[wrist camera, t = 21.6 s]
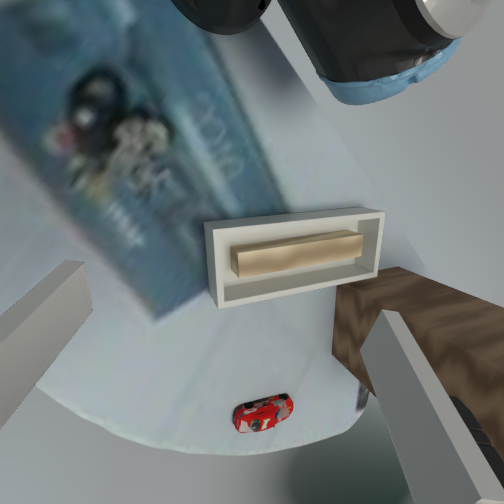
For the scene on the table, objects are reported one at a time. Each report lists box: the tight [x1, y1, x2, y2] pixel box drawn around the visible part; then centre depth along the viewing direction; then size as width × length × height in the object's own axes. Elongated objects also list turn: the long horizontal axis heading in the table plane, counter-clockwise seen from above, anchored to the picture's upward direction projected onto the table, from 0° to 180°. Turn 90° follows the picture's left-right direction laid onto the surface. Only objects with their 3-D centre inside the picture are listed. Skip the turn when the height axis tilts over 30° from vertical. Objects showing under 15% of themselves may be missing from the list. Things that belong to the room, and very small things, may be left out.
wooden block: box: [332, 267, 504, 462], centre depth 44 cm, size 18×16×37 cm
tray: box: [204, 207, 385, 309], centre depth 47 cm, size 12×30×6 cm, turn 91°
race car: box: [233, 393, 293, 433], centre depth 56 cm, size 13×5×4 cm, turn 83°
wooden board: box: [230, 230, 363, 278], centre depth 47 cm, size 4×23×4 cm, turn 92°
